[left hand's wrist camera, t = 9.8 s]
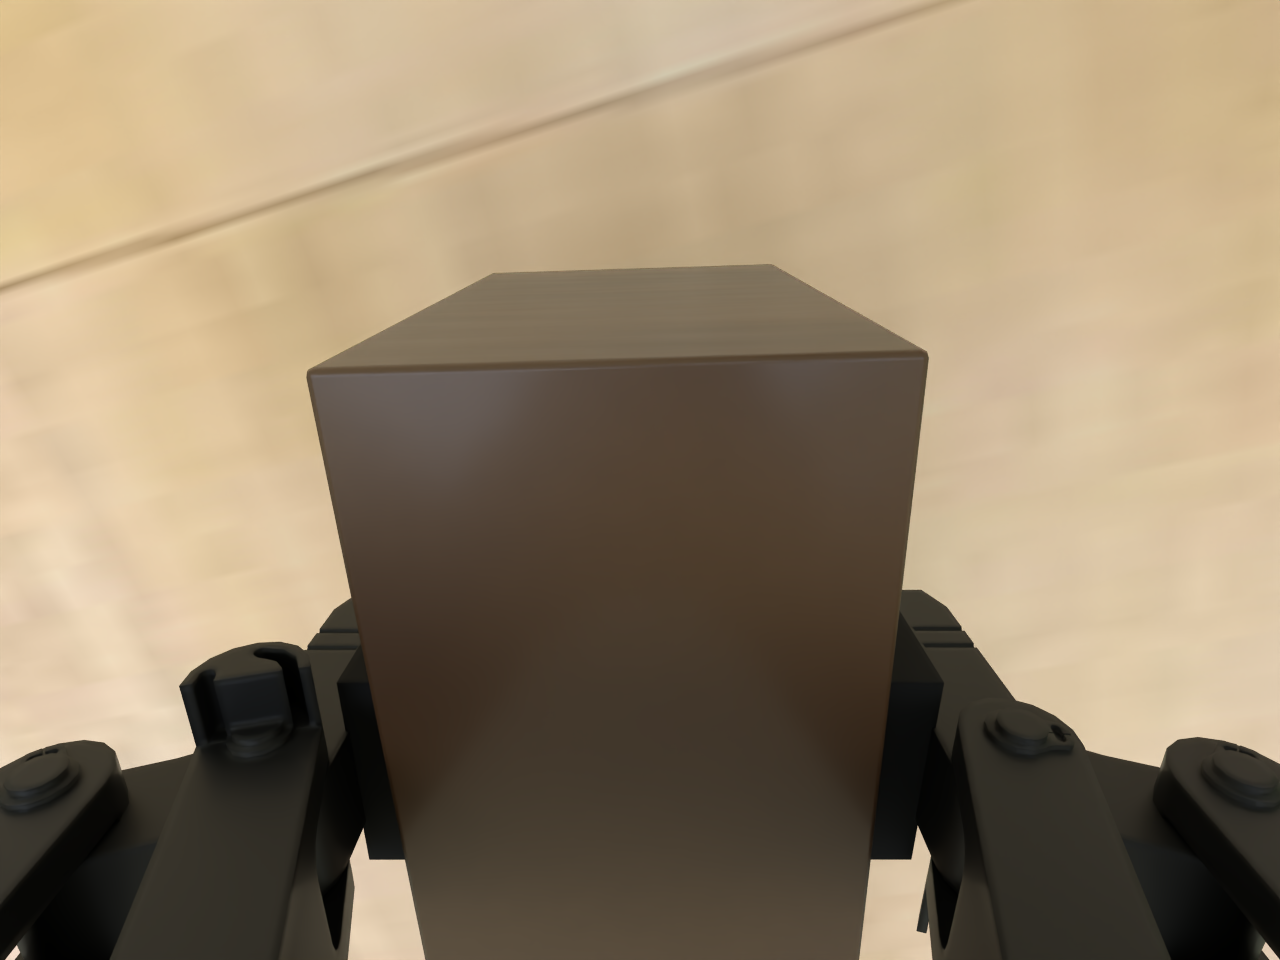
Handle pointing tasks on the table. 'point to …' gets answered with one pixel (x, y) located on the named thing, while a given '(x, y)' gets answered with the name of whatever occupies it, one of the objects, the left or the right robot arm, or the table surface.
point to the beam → (629, 605)
